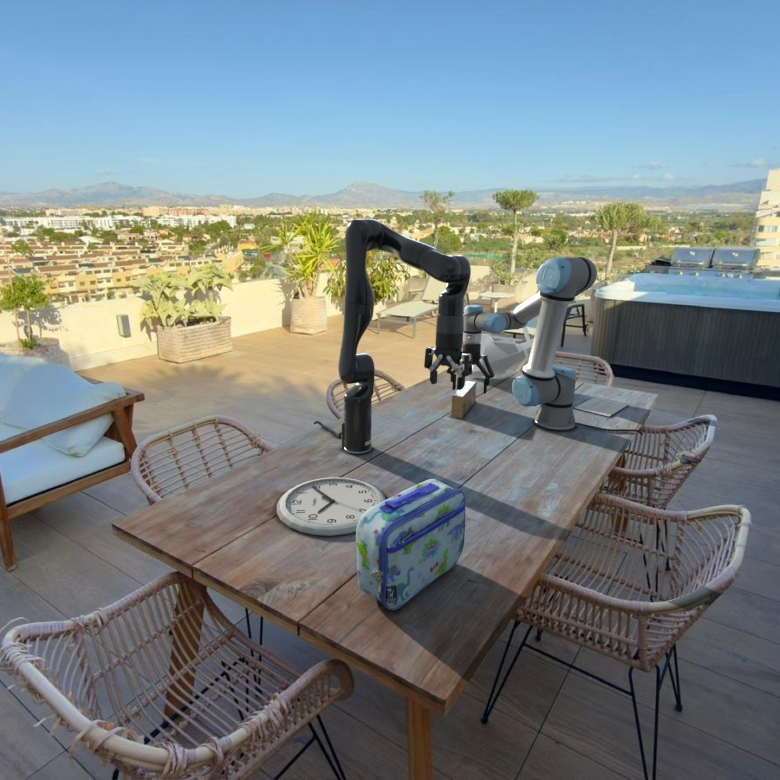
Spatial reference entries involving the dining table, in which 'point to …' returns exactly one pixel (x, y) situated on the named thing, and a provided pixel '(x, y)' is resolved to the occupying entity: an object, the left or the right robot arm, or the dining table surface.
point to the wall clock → (327, 505)
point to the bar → (463, 399)
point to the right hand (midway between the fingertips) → (469, 391)
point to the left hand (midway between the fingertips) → (446, 386)
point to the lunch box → (409, 541)
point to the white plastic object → (502, 353)
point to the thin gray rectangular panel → (601, 406)
